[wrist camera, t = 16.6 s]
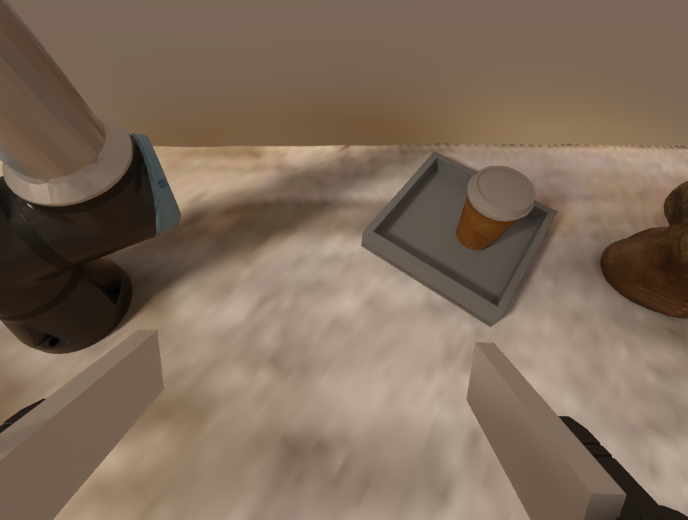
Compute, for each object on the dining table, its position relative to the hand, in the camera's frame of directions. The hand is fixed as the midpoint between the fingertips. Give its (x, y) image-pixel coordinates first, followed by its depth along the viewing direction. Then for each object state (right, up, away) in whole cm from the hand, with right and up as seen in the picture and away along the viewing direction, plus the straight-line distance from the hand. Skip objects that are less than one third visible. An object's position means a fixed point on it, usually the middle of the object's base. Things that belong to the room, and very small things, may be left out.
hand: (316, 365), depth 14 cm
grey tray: (+21, +9, +45) cm, 50 cm away
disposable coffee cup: (+24, +9, +44) cm, 50 cm away
